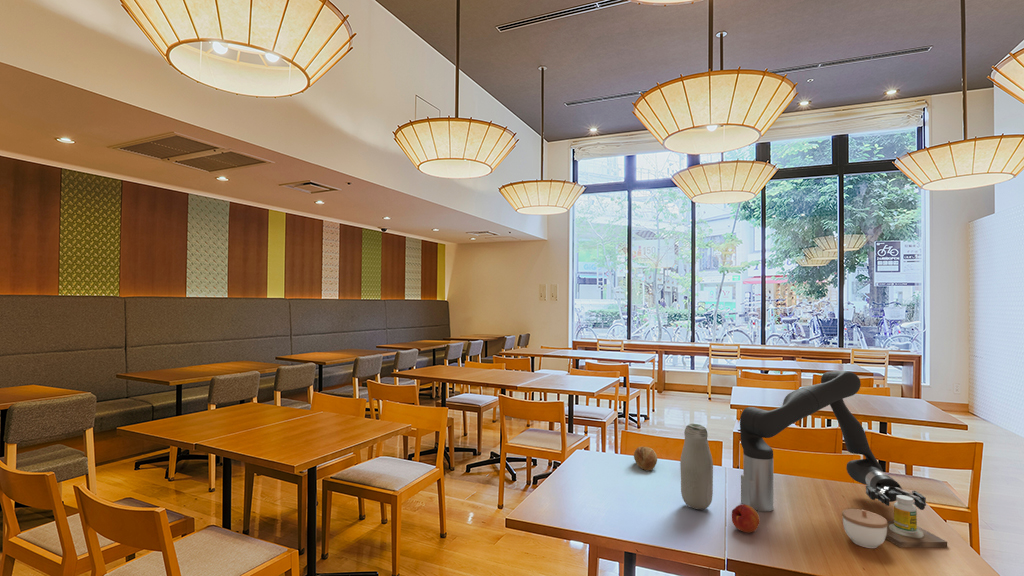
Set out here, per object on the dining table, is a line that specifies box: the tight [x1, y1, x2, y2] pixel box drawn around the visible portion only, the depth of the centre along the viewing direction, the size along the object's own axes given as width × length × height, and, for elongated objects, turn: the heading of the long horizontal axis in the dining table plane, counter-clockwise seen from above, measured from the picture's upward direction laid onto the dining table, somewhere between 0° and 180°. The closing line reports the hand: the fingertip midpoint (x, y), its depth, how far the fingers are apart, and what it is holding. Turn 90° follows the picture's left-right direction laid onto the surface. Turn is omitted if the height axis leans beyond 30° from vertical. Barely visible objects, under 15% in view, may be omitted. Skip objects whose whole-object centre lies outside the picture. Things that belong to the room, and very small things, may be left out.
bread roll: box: [633, 446, 658, 471], centre depth 205 cm, size 10×15×8 cm, turn 169°
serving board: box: [885, 520, 948, 548], centre depth 145 cm, size 14×13×2 cm
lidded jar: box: [841, 508, 888, 549], centre depth 140 cm, size 11×11×9 cm
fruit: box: [731, 503, 761, 534], centre depth 147 cm, size 8×8×8 cm
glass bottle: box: [679, 423, 714, 511], centre depth 164 cm, size 10×10×28 cm
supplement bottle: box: [893, 495, 918, 533], centre depth 145 cm, size 5×5×10 cm
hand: (905, 504), depth 145 cm, fingers open, 8 cm apart
